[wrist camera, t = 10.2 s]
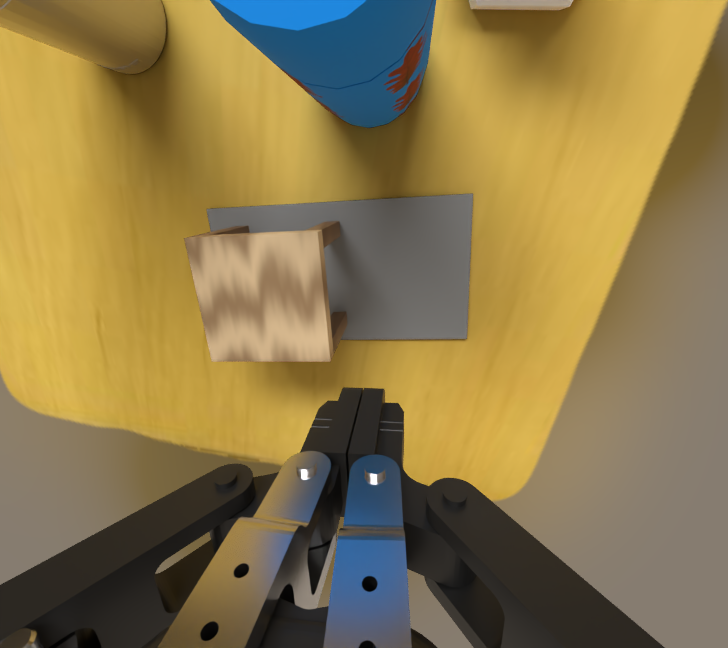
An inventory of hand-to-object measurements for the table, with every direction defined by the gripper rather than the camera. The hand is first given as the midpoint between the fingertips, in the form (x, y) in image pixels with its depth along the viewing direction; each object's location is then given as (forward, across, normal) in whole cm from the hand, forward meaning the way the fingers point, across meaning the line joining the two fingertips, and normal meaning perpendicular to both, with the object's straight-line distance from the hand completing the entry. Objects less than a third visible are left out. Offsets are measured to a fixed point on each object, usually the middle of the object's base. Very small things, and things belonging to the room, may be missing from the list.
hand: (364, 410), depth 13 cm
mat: (+30, +7, +2) cm, 30 cm away
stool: (+24, +6, +2) cm, 25 cm away
